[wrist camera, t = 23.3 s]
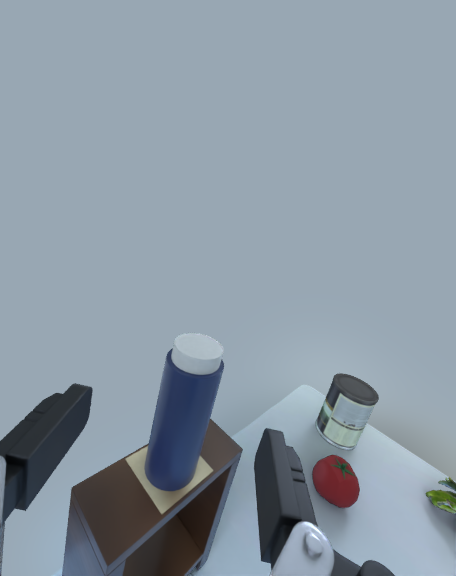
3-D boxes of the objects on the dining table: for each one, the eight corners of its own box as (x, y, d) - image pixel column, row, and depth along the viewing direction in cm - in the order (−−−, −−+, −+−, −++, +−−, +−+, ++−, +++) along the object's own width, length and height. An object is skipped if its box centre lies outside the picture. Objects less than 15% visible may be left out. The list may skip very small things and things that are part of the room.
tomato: (331, 470, 55) (343, 443, 53) (360, 511, 48) (375, 482, 46) (300, 476, 52) (312, 448, 50) (327, 521, 45) (342, 490, 43)
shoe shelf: (82, 709, 24) (107, 565, 18) (56, 623, 28) (71, 486, 23) (206, 560, 36) (243, 448, 31) (175, 516, 40) (203, 410, 35)
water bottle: (201, 485, 25) (237, 362, 22) (146, 497, 23) (175, 362, 20) (189, 440, 30) (216, 331, 26) (142, 446, 28) (165, 329, 24)
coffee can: (307, 420, 68) (325, 374, 64) (333, 414, 73) (351, 371, 69) (337, 454, 59) (360, 404, 56) (365, 445, 64) (388, 398, 61)
